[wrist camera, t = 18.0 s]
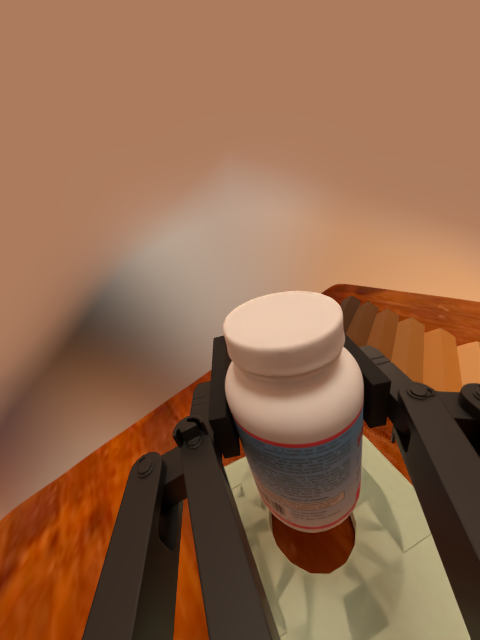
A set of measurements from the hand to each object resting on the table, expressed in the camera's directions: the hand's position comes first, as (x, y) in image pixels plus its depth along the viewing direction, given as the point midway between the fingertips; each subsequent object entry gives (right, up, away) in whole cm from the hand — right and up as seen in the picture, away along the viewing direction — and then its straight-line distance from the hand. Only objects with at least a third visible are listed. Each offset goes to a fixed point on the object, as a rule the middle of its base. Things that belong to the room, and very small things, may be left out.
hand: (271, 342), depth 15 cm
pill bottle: (+2, -8, -2) cm, 8 cm away
